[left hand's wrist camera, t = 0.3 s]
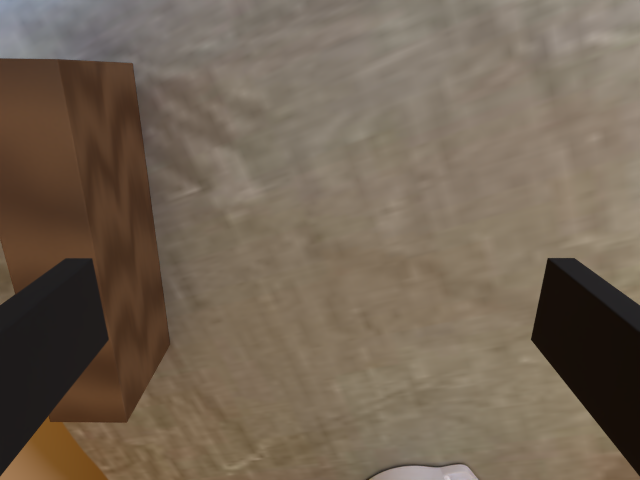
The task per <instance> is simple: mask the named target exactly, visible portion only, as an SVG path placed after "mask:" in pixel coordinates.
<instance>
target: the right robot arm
mask: <svg viewBox="0 0 640 480" xmlns="http://www.w3.org/2000/svg"><path fill="white" fill-rule="evenodd" d="M369 480H478V478H477V477H476V476H475V475H474V473H473V472H472V471H471V470H470V469H469V468H468V467H467V466H466V465H462V464H457V465H450V466H444V467H426V466H403V467H397V468H393V469H389V470H386V471H384V472H381V473H379V474H377V475H375V476H374V477H372V478H370V479H369Z"/></svg>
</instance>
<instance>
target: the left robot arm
mask: <svg viewBox="0 0 640 480" xmlns="http://www.w3.org/2000/svg"><path fill="white" fill-rule="evenodd" d="M108 340H109V337H108V332H107V328H106V323H105V318H104V313H103V308H102V303H101V298H100V294H99V289H98V284H97V279H96V274H95V269H94V264H93V260H92V258H65V259H64V260H62V261H61V262H60V263H58V264H57V265H56V266H54V267H53V268H51V269H50V270H49V271H47V272H46V273H44V274H43V275H42V276H40V277H39V278H38V279H36V280H35V281H33V282H32V283H31V284H29V285H28V286H26V287H25V288H24V289H22V290H21V291H20V292H18V293H17V294H15V295H14V296H13V297H11V298H10V299H8V300H7V301H6V302H4V303H3V304H2V305H0V476H1V475H2V473H3V472H4V471H5V470H6V468H7V467H8V466H9V465H10V463H11V462H12V461H13V460H14V458H15V457H16V456H17V455H18V453H19V452H20V451H21V450H22V448H23V447H24V446H25V444H26V443H27V442H28V441H29V439H30V438H31V437H32V436H33V434H34V433H35V432H36V431H37V429H38V428H39V427H40V426H41V424H42V423H43V422H44V421H45V419H46V418H47V417H48V416H49V414H50V413H51V412H52V411H53V409H54V408H55V407H56V406H57V404H58V403H59V402H60V401H61V399H62V398H63V397H64V396H65V394H66V393H67V392H68V390H69V389H70V388H71V387H72V385H73V384H74V383H75V382H76V380H77V379H78V378H79V377H80V375H81V374H82V373H83V372H84V370H85V369H86V368H87V367H88V365H89V364H90V363H91V362H92V360H93V359H94V358H95V357H96V355H97V354H98V353H99V352H100V350H101V349H102V348H103V347H104V345H105V344H106V343H107V341H108ZM531 340H532V341H533V343H534V344H535V345H536V347H537V348H538V349H539V350H540V352H541V353H542V354H543V355H544V357H545V358H546V359H547V360H548V362H549V363H550V364H551V365H552V367H553V368H554V369H555V370H556V372H557V373H558V374H559V375H560V377H561V378H562V379H563V380H564V382H565V383H566V384H567V385H568V387H569V388H570V389H571V390H572V392H573V393H574V394H575V396H576V397H577V398H578V399H579V401H580V402H581V403H582V404H583V406H584V407H585V408H586V409H587V411H588V412H589V413H590V414H591V416H592V417H593V418H594V419H595V421H596V422H597V423H598V424H599V426H600V427H601V428H602V429H603V431H604V432H605V433H606V434H607V436H608V437H609V438H610V439H611V441H612V442H613V443H614V445H615V446H616V447H617V448H618V450H619V451H620V452H621V453H622V455H623V456H624V457H625V458H626V460H627V461H628V462H629V463H630V465H631V466H632V467H633V468H634V470H635V471H636V472H637V473H638V475H639V476H640V305H638V304H637V303H636V302H634V301H633V300H632V299H630V298H629V297H627V296H626V295H625V294H623V293H622V292H620V291H619V290H618V289H616V288H615V287H614V286H612V285H611V284H609V283H608V282H607V281H605V280H604V279H602V278H601V277H600V276H598V275H597V274H596V273H594V272H593V271H591V270H590V269H589V268H587V267H586V266H584V265H583V264H582V263H580V262H579V261H578V260H576V259H575V258H548V260H547V264H546V269H545V274H544V279H543V284H542V289H541V294H540V298H539V303H538V308H537V313H536V318H535V323H534V328H533V332H532V337H531Z"/></svg>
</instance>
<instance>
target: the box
mask: <svg viewBox="0 0 640 480" xmlns="http://www.w3.org/2000/svg"><path fill="white" fill-rule="evenodd" d="M0 239H1V243H2V247H3V250H4V254H5V258H6V261H7V265H8V269H9V272H10V276H11V280H12V283H13V287H14V291H15V294H17V293H18V292H20V291H21V290H22V289H24V288H25V287H26V286H28V285H29V284H31V283H32V282H33V281H35V280H36V279H38V278H39V277H40V276H42V275H43V274H44V273H46V272H47V271H49V270H50V269H51V268H53V267H54V266H56V265H57V264H58V263H60V262H61V261H62V260H64V259H65V258H92V260H93V264H94V269H95V274H96V279H97V284H98V289H99V294H100V298H101V303H102V308H103V313H104V318H105V323H106V328H107V332H108V337H109V340H108V341H107V343H106V344H105V345H104V347H103V348H102V349H101V350H100V352H99V353H98V354H97V355H96V357H95V358H94V359H93V360H92V362H91V363H90V364H89V365H88V367H87V368H86V369H85V370H84V372H83V373H82V374H81V375H80V377H79V378H78V379H77V380H76V382H75V383H74V384H73V385H72V387H71V388H70V389H69V390H68V392H67V393H66V394H65V396H64V397H63V398H62V399H61V401H60V402H59V403H58V404H57V406H56V407H55V408H54V409H53V411H52V412H51V413H50V414H49V419H50V422H123V423H127V421H128V420H129V418H130V416H131V414H132V412H133V411H134V409H135V407H136V405H137V403H138V401H139V400H140V398H141V396H142V394H143V392H144V391H145V389H146V387H147V385H148V383H149V382H150V380H151V378H152V376H153V374H154V373H155V371H156V369H157V367H158V365H159V363H160V362H161V360H162V358H163V356H164V354H165V353H166V351H167V349H168V347H169V345H170V341H169V333H168V326H167V318H166V311H165V303H164V296H163V288H162V281H161V273H160V266H159V258H158V251H157V243H156V236H155V228H154V221H153V213H152V206H151V198H150V191H149V183H148V176H147V168H146V161H145V153H144V146H143V138H142V131H141V123H140V116H139V108H138V101H137V93H136V86H135V78H134V71H133V64H132V63H119V62H100V61H81V60H62V59H1V58H0Z"/></svg>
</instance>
